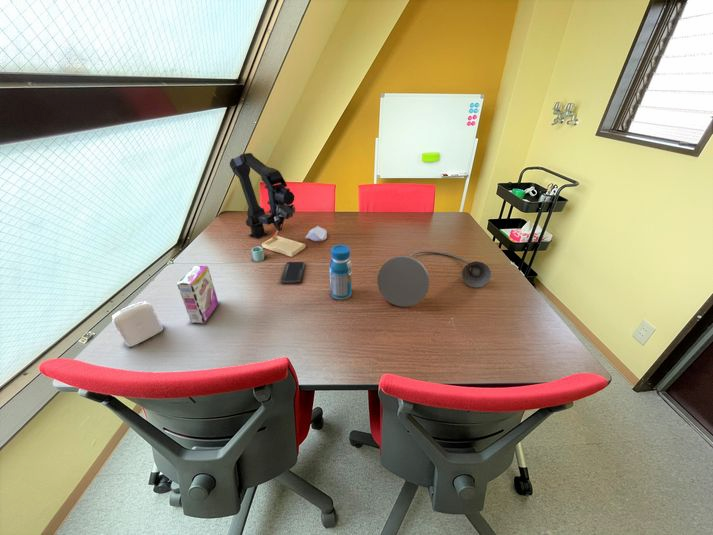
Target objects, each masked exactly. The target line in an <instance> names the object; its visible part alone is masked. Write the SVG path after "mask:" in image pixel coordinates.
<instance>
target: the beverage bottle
mask: <svg viewBox="0 0 713 535" xmlns="http://www.w3.org/2000/svg"><path fill="white" fill-rule="evenodd" d="M330 256H331V260H330V262H329V281H330V284H329V285H330V295H331V297H332V298H334V299H335V300H346V299H349V298H350V297H351V295H352V292H353V291H352V290H353V289H352V287H353V286H352V284H353V283H352V280H353V278H352V277H353V268H352V267H353V263H352V261H351V258H350V257H351V249H350V247H349V246H348V245H346V244H336V245H333V246H332V247H331V249H330Z"/></svg>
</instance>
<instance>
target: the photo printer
mask: <svg viewBox="0 0 713 535" xmlns="http://www.w3.org/2000/svg"><path fill="white" fill-rule="evenodd" d="M111 319H112V323H113V325H114V327H115V328H116V330H117V332H118V333H119V335H120V337H121V338H122V340H123V342H124V343H125V345H126V346H127V347H131V348H132V347H134V346H136V345H138V344H140V343H142V342H145V341H146V340H148V339H150V338H152V337H154V336H156V335H157V334H160V333H161V332H162V331H163V330H164V328H163V325H162V323H161V321H160V319H159V317H158V315H157V313H156V310H155V309H154V307H153V305H152V304H151V303H149V302H148V301H147V300H145V301H140V302H136V303H133V304H130V305H128V306H125V307H124V308H122V309H120V310H118V311H117V312H115V313H114V314H113V315H111Z"/></svg>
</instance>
